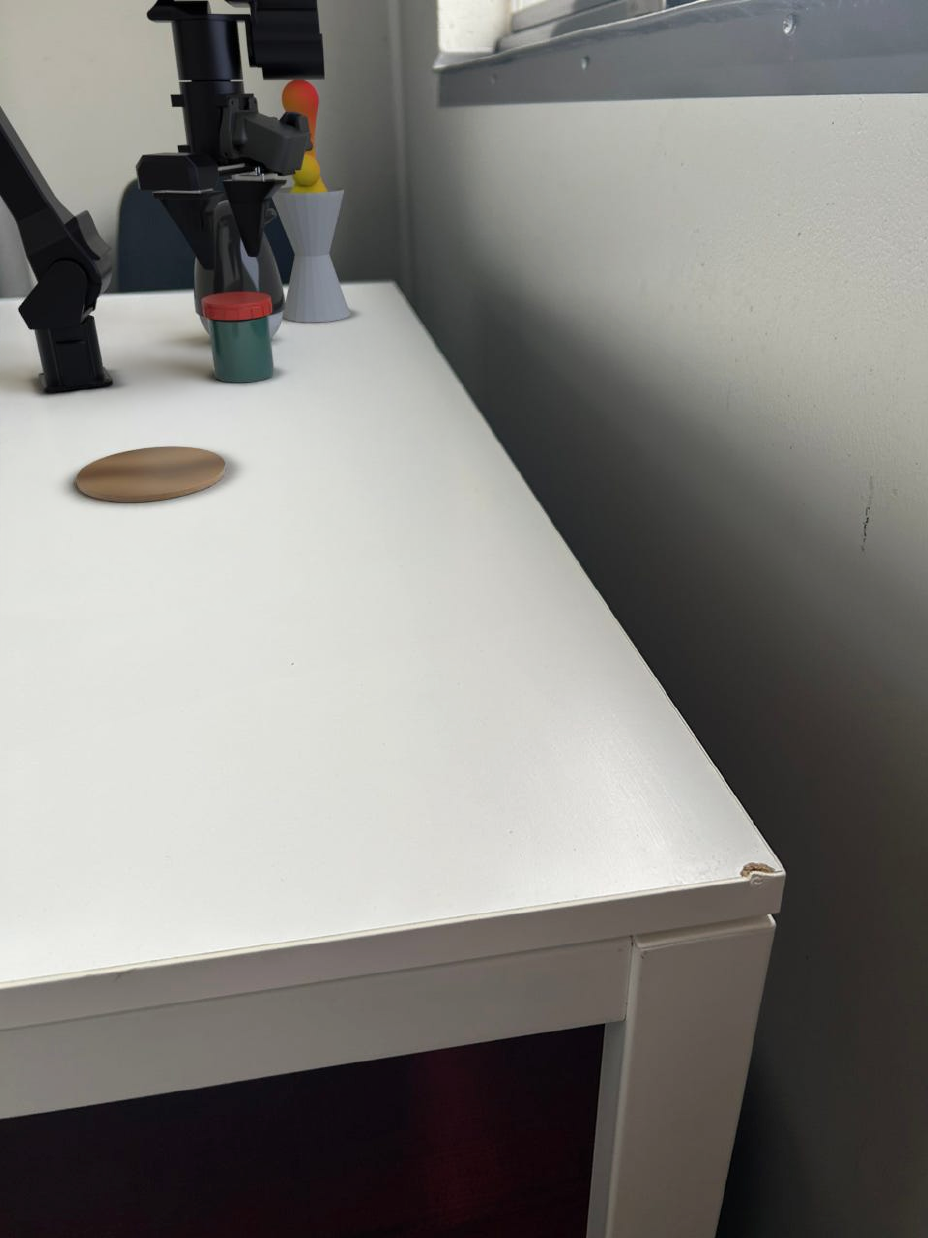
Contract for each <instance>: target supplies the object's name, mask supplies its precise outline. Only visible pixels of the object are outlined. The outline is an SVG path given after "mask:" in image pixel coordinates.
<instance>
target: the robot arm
mask: <svg viewBox="0 0 928 1238" xmlns="http://www.w3.org/2000/svg"><path fill="white" fill-rule="evenodd" d="M223 1H224V2H225V3H227V4H228V5H230V6H232V7H233V8H236V9H237V8H241V9H244V8H248V9H249V12H250V13H212V9H211V4H210V1H209V0H156V2H154V4H153V5H152V6H151V7H150V9H148V10H147V12H146V18H147V19H148V20H149V21H151V22H153V23H156V24H171V33H172V39H173V48H174V56H175V63H176V71H177V79H178V88H179V93H175V94H171V93H170V103H171V107H172V108H181V111H182V119H183V127H184V132H185V143H186V144H177V145H176V147H177V152H169V151H168V152H157V153H148V154H147V153H145V154H142V155H141V156H140V157H139V159H138V160H137V161H138V162H137V163H136V165H135V172H136V180H137V187H138V190H140V191H152V192H151V195H152V198H153V199H154V200H158V201H159V202H160V203H161V205H162V206H163V207H164V209H165V211H166V212H167V213H168V215H169V216H170V218H171V219H172V221H173V222H174V223H175V225H176V226H177V228H178V230H179V231H180V233H181V234H182V237H183V238H184V239H185V241H186V243H187V245H188V246H189V248H190V249H191V251H192V253H193V254H194V256H195V259H196V258H197V259H198V261H199V263H200V264H201V266H202V268H203V269H204V270H214V269H215V258H216V251H215V225H214V210H215V208H216V206H217V204H218V203H219V202H221V200H222V199H223V197H224V196H225V195H226V198H227V200H228V202H229V204H230V207H231V210H232V213H233V216H234V219H235V222H236V225H237V228H238V231H239V234H240V237H241V240H242V243H243V245H244V248H245V250H246V253H247V255H248V256H249V257H258V256H259V252H260V247H261V241H262V236H263V231H264V232H265V226H266V224H265V220H266V215H267V211H268V209H269V206H270V202H271V199H272V196H273V195H274V194H275V193H276V192H277V191H278V190H279V189H280V188H283V186H286V184H287V182H288V179H283V178H282V179H281V178H277V179H276V178H275V177H276V176H275V175H277V177H289V176H291V175H294V174H296V171H295V169H296V170H297V171H299V170H301V168H302V163H303V159H304V154H305V152H306V151H311V150H312V149H313V143H312V141H311V135H312V133H310V129H309V123H308V117H307V116H305V115H303V114H301V113H298V112H296V111H287V112H286V111H285V112H284V113H283V114H282V115H281V117H280V118H279V119H278V117H277V116H268V115H265V114H263V113H261V112H259V107H258V105H259V103H258V99H257V97H255V92H253V93H252V92H251V93H249V92H248V93H245V83H244V73H243V64H242V54H241V45H240V35H239V34H240V33H239V25H238V24H239V23H240V24H241V23H244V31H245V40H246V51H247V59H248V66H249V68H250V69H256V68H257V69H261V76H262V80H263V81H292V80H306V81H325V79H326V77H325V74H326V73H325V56H324V55H325V54H324V40H323V39H324V37H323V33H321V30H320V18H319V5H318V0H223ZM228 176H231V179H225V180H221V183H222V186H223V190H214V189H216V188H217V185H218V182H219V180H220V178H222V177H228ZM0 198H1V201H3V203H4V204H5V206H6V208H7V209H8V210H9V212H10V214H11V215H12V217H13V219H14V222H15V224H16V226H17V229H18V233H19V237H20V240H21V245H22V247H23V250H24V254H25V257H26V259H27V262H28V263H29V265H30V268H31V271H32V273H33V275H34V278H35V279H36V282H37V283H36V285H35V286H34V287H33V288H32V290H31V291H30V292H29V293H28V294H27V296H26V297H25V298H24V300H23V301H22V302H21V303H20V304H19V306H18V307H17V311H18V313H19V315H20V317H21V318H22V320H23V321H24V324H25V325H26V327H27V328H28V330H30V331H34V336H35V341H36V346H37V349H38V350H37V351H38V355H39V360H40V364H41V368H42V372H40V373H38V374H37V376H38V380H39V382H40V385H41V387H42V390H43V393H56V392H64V391H73V390H81V389H88V388H89V389H90V388H98V387H105V386H112V385H114V380H113V377H112V376H111V374H110V373H109V371H108V370H107V368H106V367H105V366H104V363H103V358H102V353H101V348H100V342H99V335H98V331H97V325H96V320H95V316H94V315H91V314H92V312H94V311H95V310H96V309H97V302H98V299H99V298H100V297H101V296H102V295H103V293H104V292H105V291H106V290H107V289H108V287H109V286H110V284H111V282H112V277H113V263H112V261H111V257H110V255H109V253H110V252H111V251H112V249H113V248H112V246H111V245H110V244H108V243H107V242H106V241H105V240H104V239H103V237H102V236H101V235H100V233H99V231H98V229H97V227H96V225H95V222H94V220H93V217H92V215H91V214H90V212H89V210H88V209H85V210H83V211H81V212H79V213H78V214H76V215H75V214H73V213H72V212H71V211H70V210H69V209H68V208H67V207H66V206H65V205H64V204H63V203H62V202H61V201H60V200H59V199H58V198H57V196H56V194H55V193H54V192H53V190H52V188H51V186H50V185H49V184H48V182H47V180H46V179H45V177H44V175H43V174H42V172H41V170H40V168H39V167H38V166H37V164H36V162H35V160H34V159H33V157H32V155H31V153H30V152H29V150H28V149H27V147H26V146H25V144H24V142H23V141H22V139H21V137H20V136H19V134H18V133H17V131H16V129H15V128H14V126H13V124H12V123H11V121H10V119H9V118H8V116H7V114H6V113H5V111H4V109H3V107H2V106H1V105H0Z"/></svg>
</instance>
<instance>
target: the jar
mask: <svg viewBox="0 0 928 1238" xmlns="http://www.w3.org/2000/svg"><path fill="white" fill-rule="evenodd" d="M208 325H209V333H210V335H209V340H210V348H211V356H212V363H213V371H214V377H215V379H216V380H218V381H220V382H224V383H231V384H232V383H233V384H235V383H236V384H240V383H241V384H243V383H254V382H261V381H263V380H264V381H265V380H267V379H270V378H272V377H273V376H274V375H275V366H274V355H273V345H272V338H271V334H270V324H269V315H267V316H264V317H260V318H255V319H248V320H214V319H209V318H208Z"/></svg>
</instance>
